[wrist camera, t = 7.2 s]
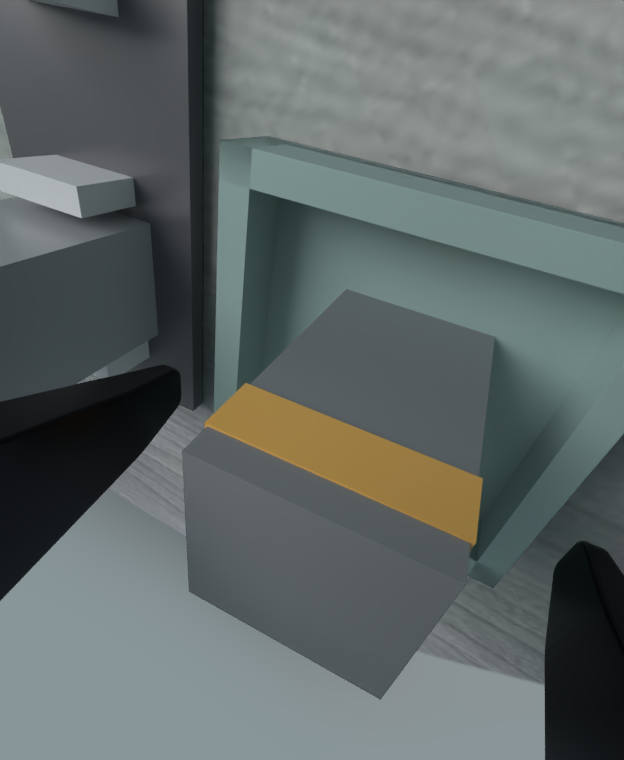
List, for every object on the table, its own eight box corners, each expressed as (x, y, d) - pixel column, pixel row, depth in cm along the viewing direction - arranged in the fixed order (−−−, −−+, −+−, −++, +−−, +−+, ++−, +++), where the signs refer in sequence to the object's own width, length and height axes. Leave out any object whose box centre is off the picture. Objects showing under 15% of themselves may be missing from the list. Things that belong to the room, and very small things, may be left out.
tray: (707, 243, 8) (756, 276, 7) (496, 531, 14) (493, 587, 12) (268, 136, 11) (219, 140, 9) (244, 421, 16) (212, 456, 15)
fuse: (497, 335, 10) (471, 583, 5) (441, 450, 13) (382, 702, 7) (344, 286, 11) (179, 447, 6) (320, 401, 14) (187, 591, 8)
